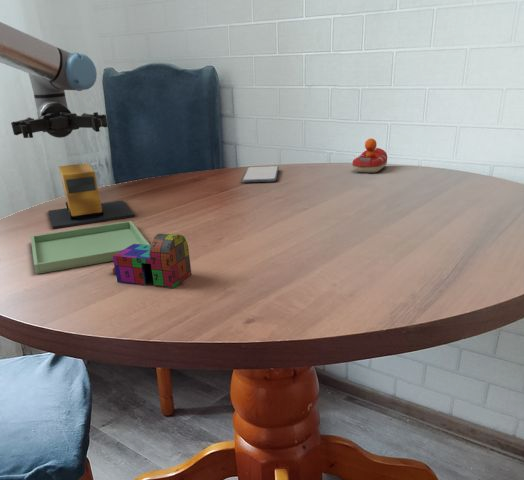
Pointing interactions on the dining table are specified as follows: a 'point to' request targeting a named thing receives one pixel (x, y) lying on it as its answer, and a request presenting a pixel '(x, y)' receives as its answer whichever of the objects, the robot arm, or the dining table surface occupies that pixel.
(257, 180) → the smartphone
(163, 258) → the block
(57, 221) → the mat
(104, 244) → the box
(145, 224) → the dining table surface
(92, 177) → the toy van
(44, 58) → the robot arm
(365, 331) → the dining table surface
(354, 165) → the toy boat
